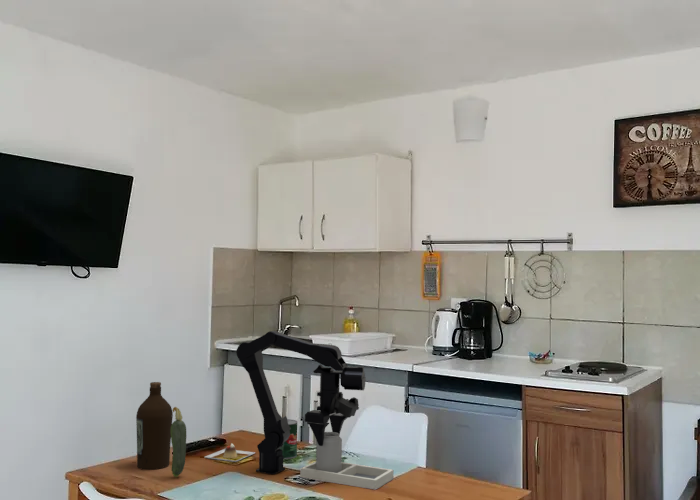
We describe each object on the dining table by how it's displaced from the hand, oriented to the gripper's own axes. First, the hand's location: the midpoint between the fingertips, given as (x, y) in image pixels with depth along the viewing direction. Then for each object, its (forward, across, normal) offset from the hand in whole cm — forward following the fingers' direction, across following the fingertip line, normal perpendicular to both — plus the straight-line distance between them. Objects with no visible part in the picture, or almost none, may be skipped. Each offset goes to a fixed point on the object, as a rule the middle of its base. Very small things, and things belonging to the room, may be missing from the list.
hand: (328, 442), depth 195 cm
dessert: (+10, +3, +38) cm, 39 cm away
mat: (+9, 0, -12) cm, 15 cm away
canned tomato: (+10, +12, +23) cm, 28 cm away
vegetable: (+10, -24, +36) cm, 44 cm away
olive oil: (+10, -18, +51) cm, 55 cm away
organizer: (+9, 0, -6) cm, 11 cm away
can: (+10, 0, 0) cm, 10 cm away
